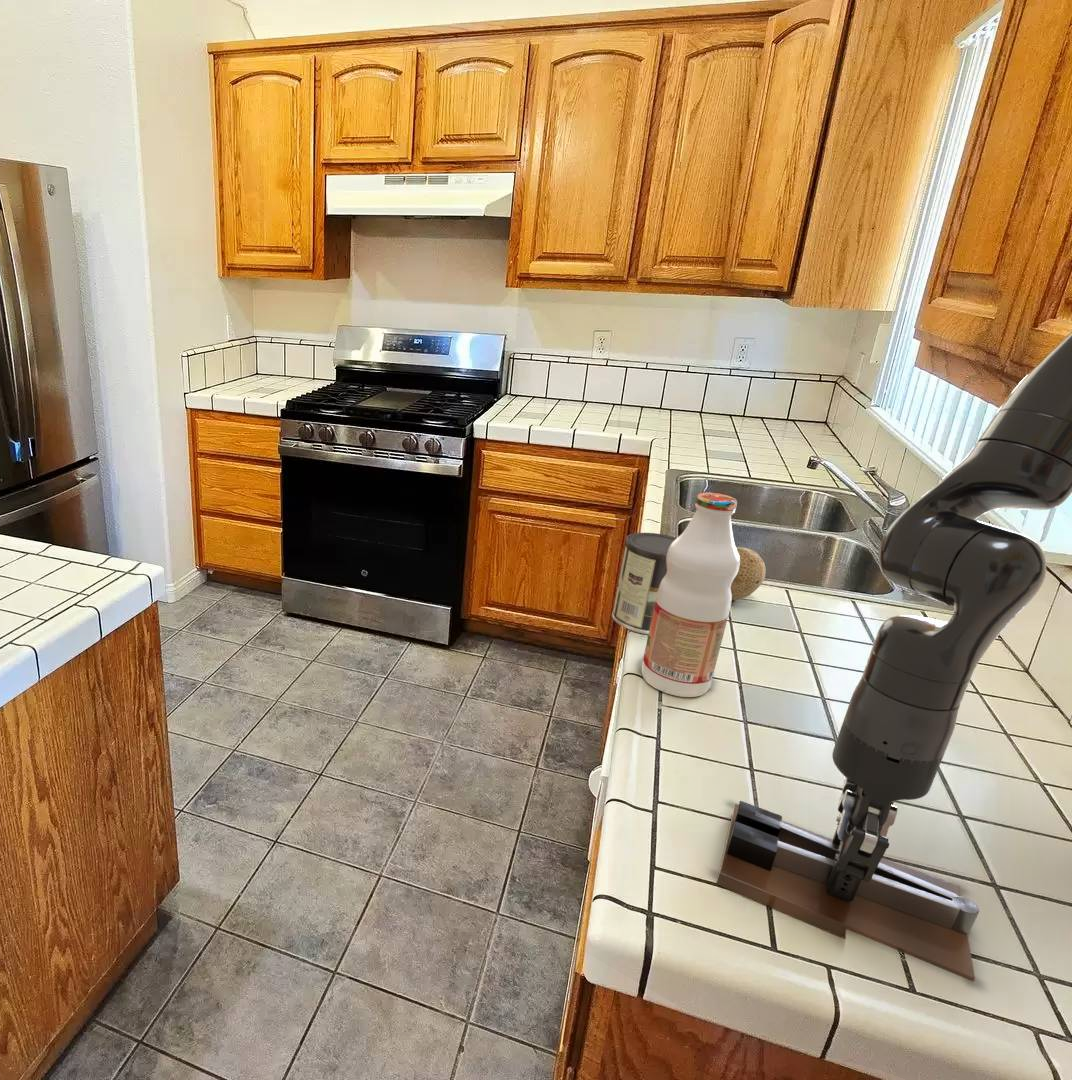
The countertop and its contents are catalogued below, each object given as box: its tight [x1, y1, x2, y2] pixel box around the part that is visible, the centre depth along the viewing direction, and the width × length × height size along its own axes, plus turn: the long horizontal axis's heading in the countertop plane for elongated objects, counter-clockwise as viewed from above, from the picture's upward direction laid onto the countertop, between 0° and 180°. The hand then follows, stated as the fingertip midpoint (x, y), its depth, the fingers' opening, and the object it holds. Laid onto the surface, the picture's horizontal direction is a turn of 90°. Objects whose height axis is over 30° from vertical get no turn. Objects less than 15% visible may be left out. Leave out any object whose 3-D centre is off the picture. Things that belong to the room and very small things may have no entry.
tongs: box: [727, 800, 980, 934], centre depth 73 cm, size 20×6×2 cm, turn 57°
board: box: [715, 803, 976, 982], centre depth 73 cm, size 20×12×2 cm, turn 58°
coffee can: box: [611, 532, 677, 635], centre depth 124 cm, size 10×10×14 cm
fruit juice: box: [641, 491, 740, 698], centre depth 104 cm, size 9×9×28 cm
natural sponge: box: [730, 546, 767, 601], centre depth 135 cm, size 9×9×10 cm
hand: (839, 877), depth 73 cm, fingers open, 4 cm apart
